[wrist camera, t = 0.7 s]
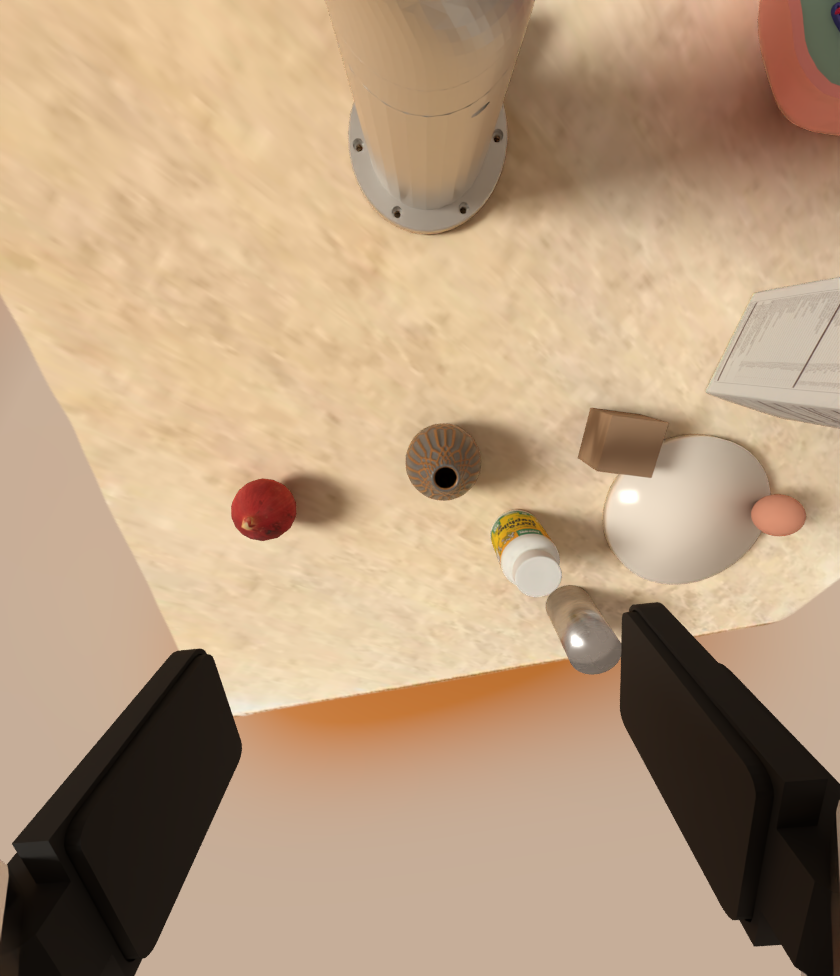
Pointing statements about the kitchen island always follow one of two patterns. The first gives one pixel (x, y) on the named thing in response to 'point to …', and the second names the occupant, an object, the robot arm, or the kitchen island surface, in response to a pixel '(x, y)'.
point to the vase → (443, 462)
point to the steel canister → (583, 630)
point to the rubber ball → (778, 515)
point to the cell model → (803, 60)
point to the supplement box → (786, 355)
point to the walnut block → (622, 442)
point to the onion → (263, 509)
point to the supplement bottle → (526, 553)
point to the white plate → (686, 510)
